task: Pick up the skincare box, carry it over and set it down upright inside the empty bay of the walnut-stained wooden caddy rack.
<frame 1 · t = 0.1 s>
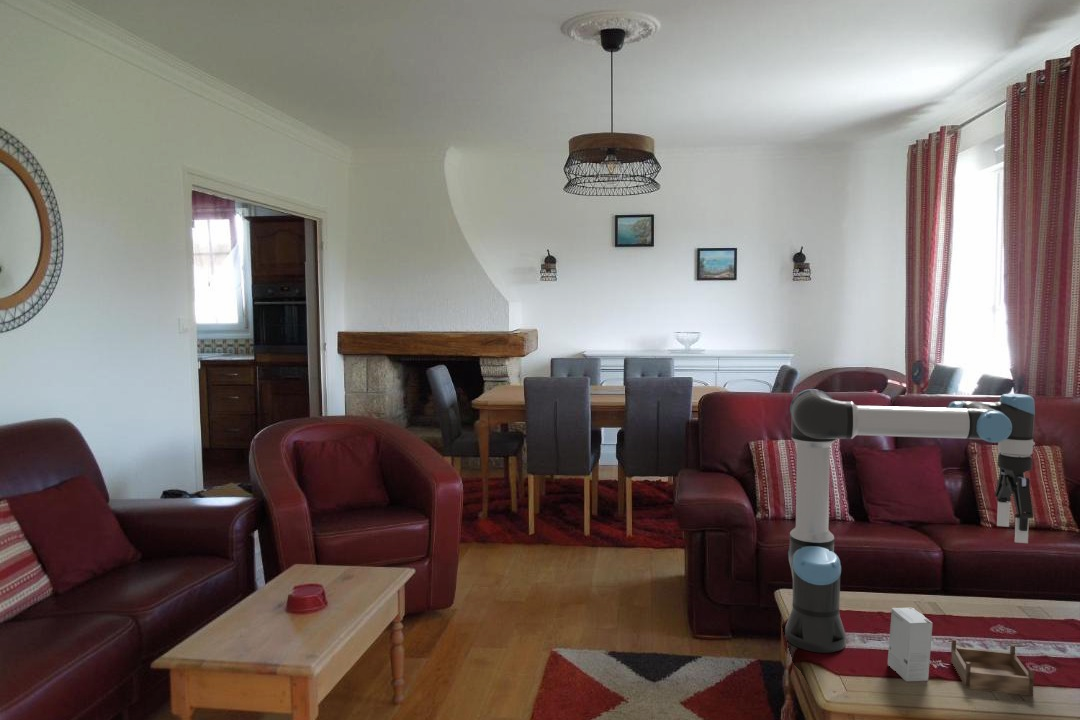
hand: (1011, 534, 192), 28 cm above the table, fingers open, 13 cm apart
skincare box: (908, 674, 177), on the table
caddy: (990, 678, 174), on the table
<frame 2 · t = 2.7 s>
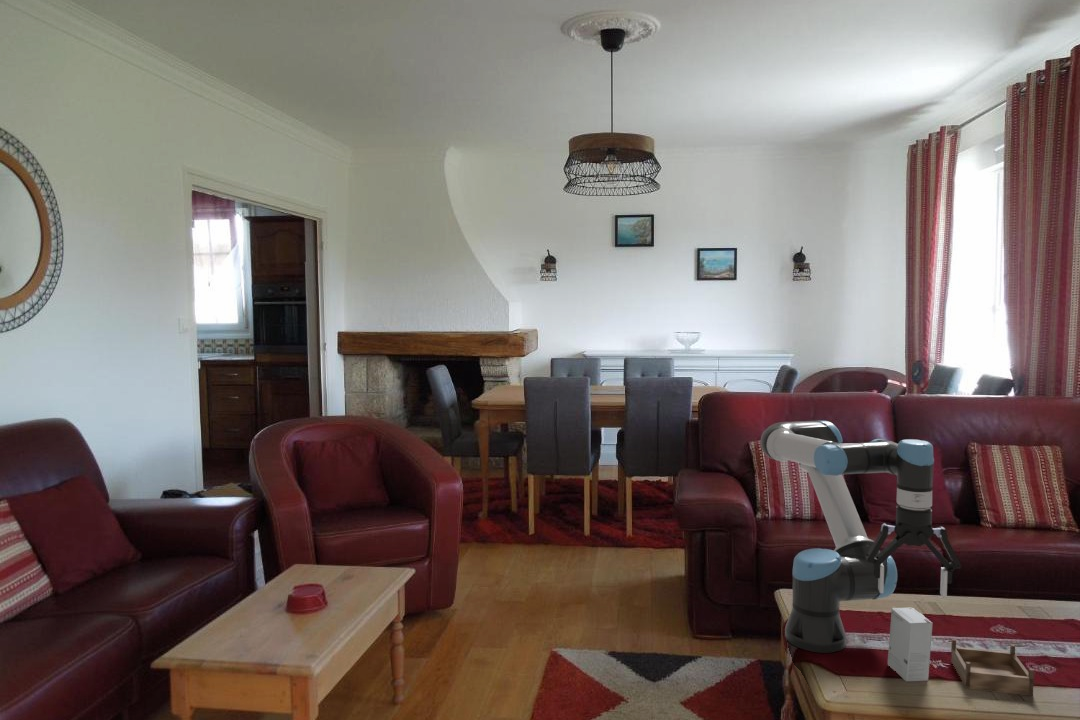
hand: (911, 593, 175), 20 cm above the table, fingers open, 13 cm apart
nothing on the table moved.
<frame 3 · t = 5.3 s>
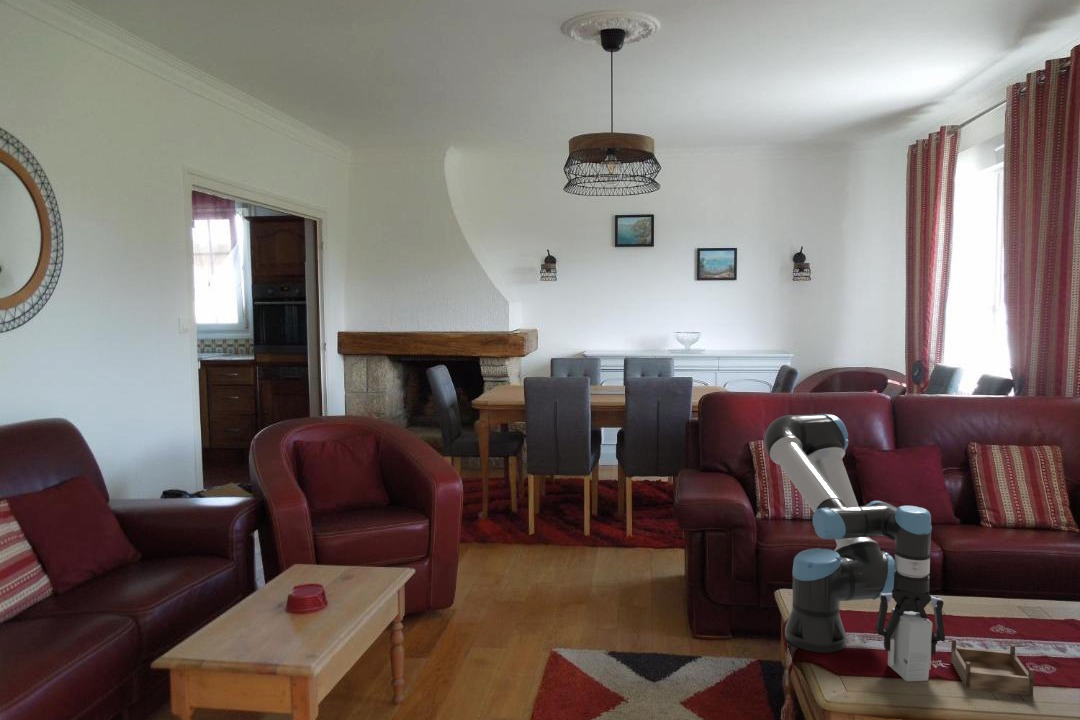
hand: (908, 664, 177), 2 cm above the table, fingers closed on skincare box, 7 cm apart
skincare box: (908, 674, 177), on the table, touching gripper
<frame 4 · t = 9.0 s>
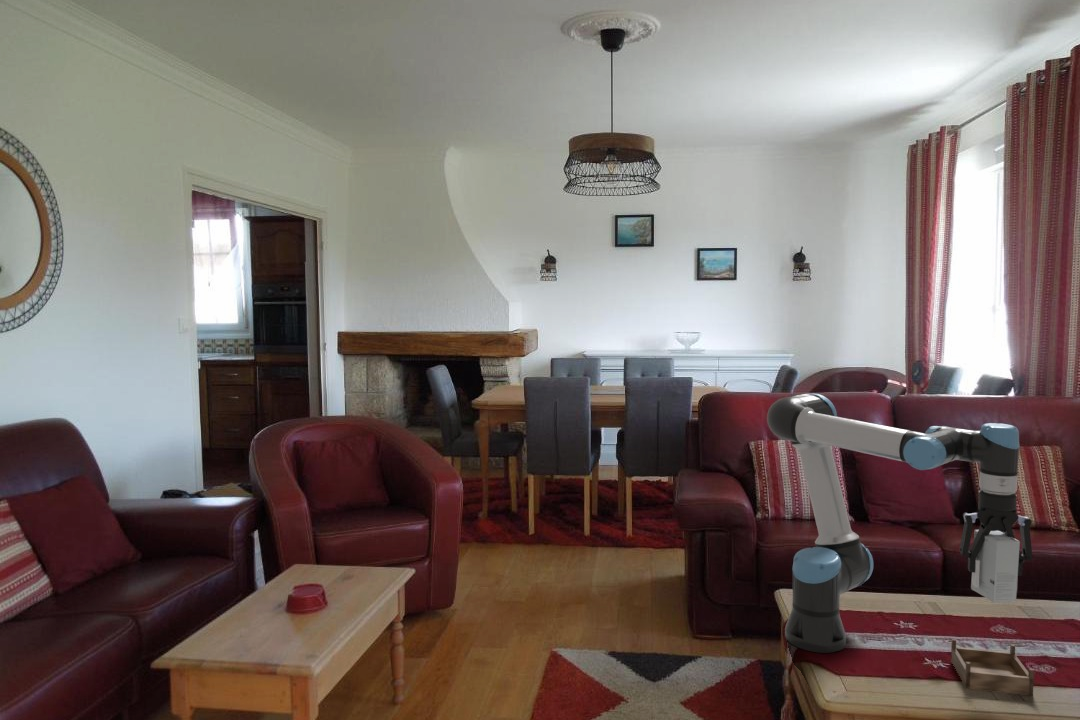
hand: (994, 586, 172), 22 cm above the table, fingers closed on skincare box, 7 cm apart
skincare box: (994, 596, 172), point 20 cm above the table, touching gripper
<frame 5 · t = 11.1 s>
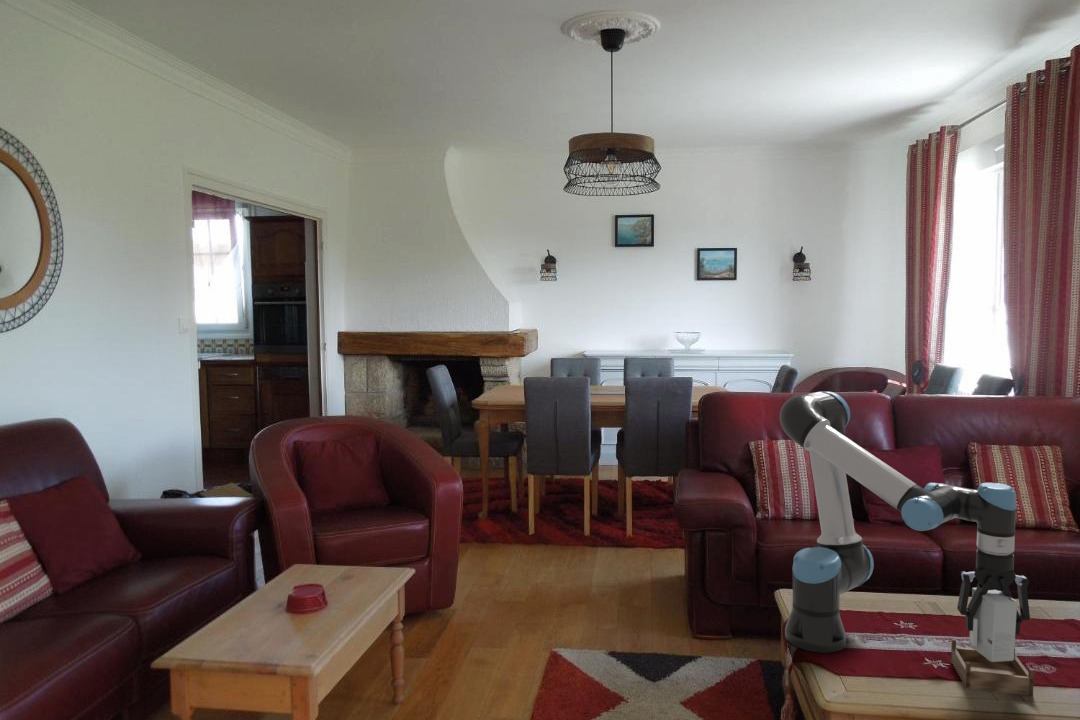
hand: (991, 644, 174), 8 cm above the table, fingers closed on skincare box, 7 cm apart
skincare box: (992, 654, 174), point 6 cm above the table, touching gripper
when the fingers open (5 cm above the table, at t = 12.7 s): skincare box drops 2 cm, resting on caddy.
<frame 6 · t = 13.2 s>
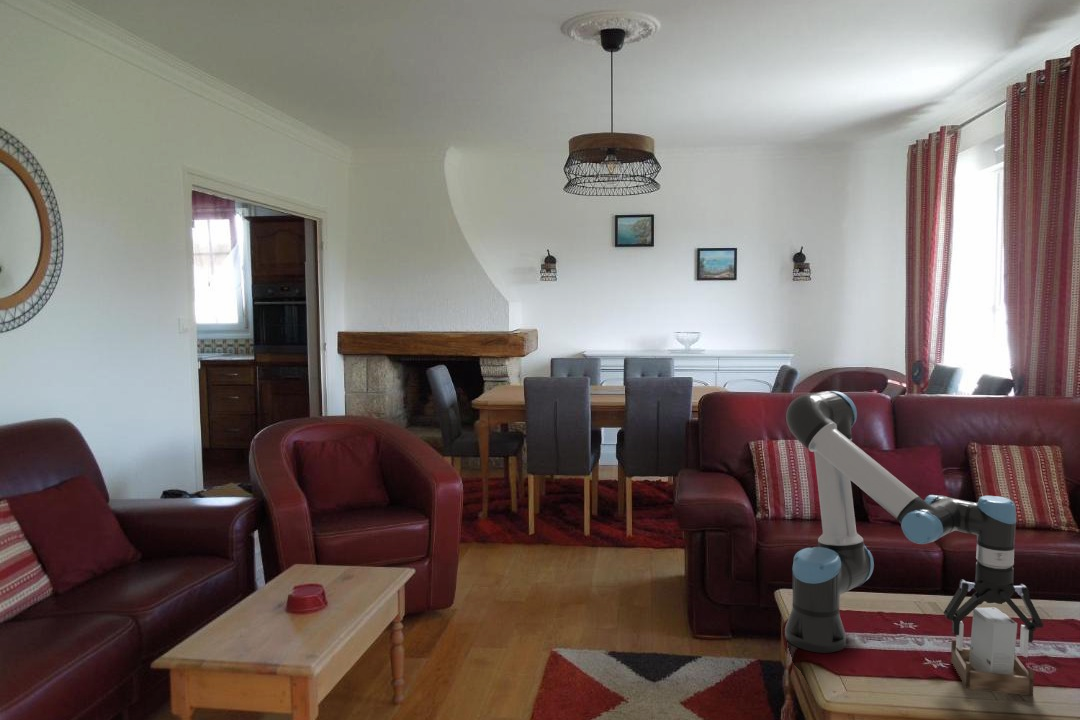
hand: (991, 651, 174), 7 cm above the table, fingers open, 13 cm apart
skincare box: (991, 675, 174), point 1 cm above the table, touching caddy
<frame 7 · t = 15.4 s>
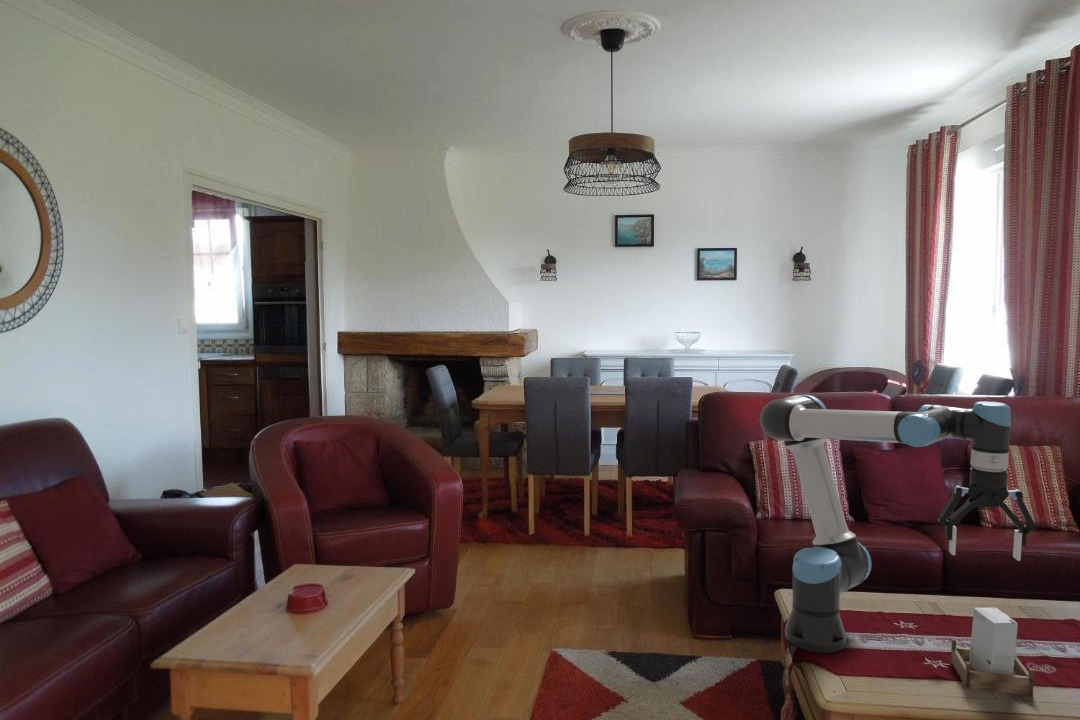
hand: (984, 556, 175), 29 cm above the table, fingers open, 13 cm apart
nothing on the table moved.
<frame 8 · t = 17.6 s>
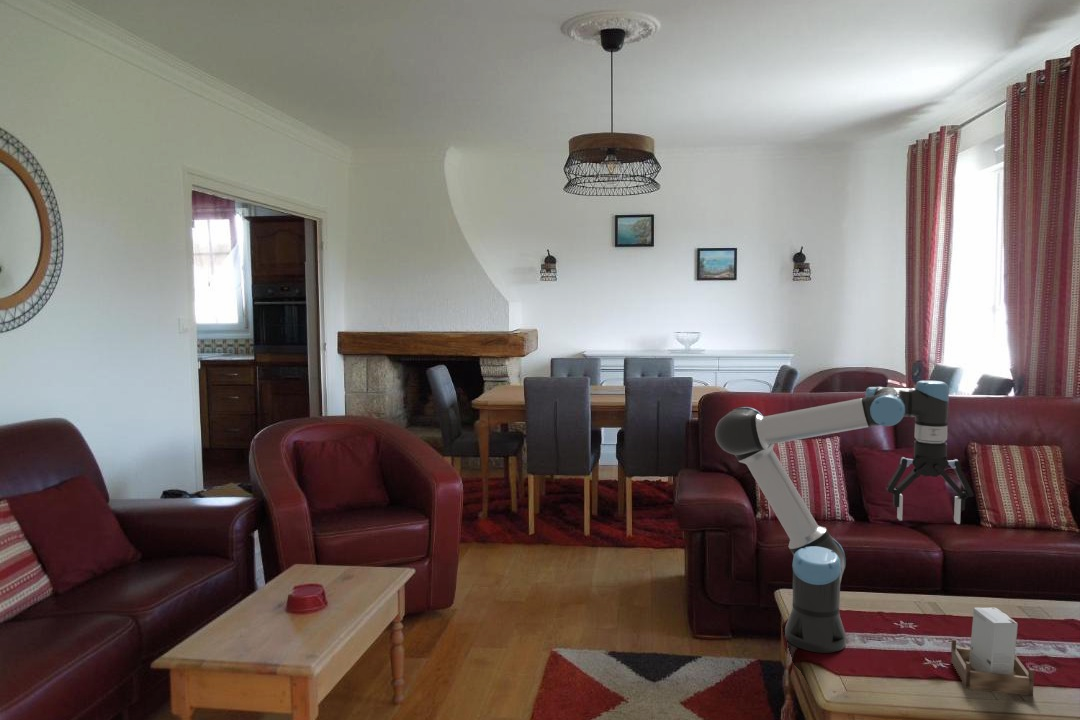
hand: (928, 520, 192), 32 cm above the table, fingers open, 13 cm apart
nothing on the table moved.
at the end: skincare box inside the target area on the caddy (0.3 cm from its centre), point 0.8 cm above the caddy's base; skincare box tilted 0°; the gripper is holding nothing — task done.
